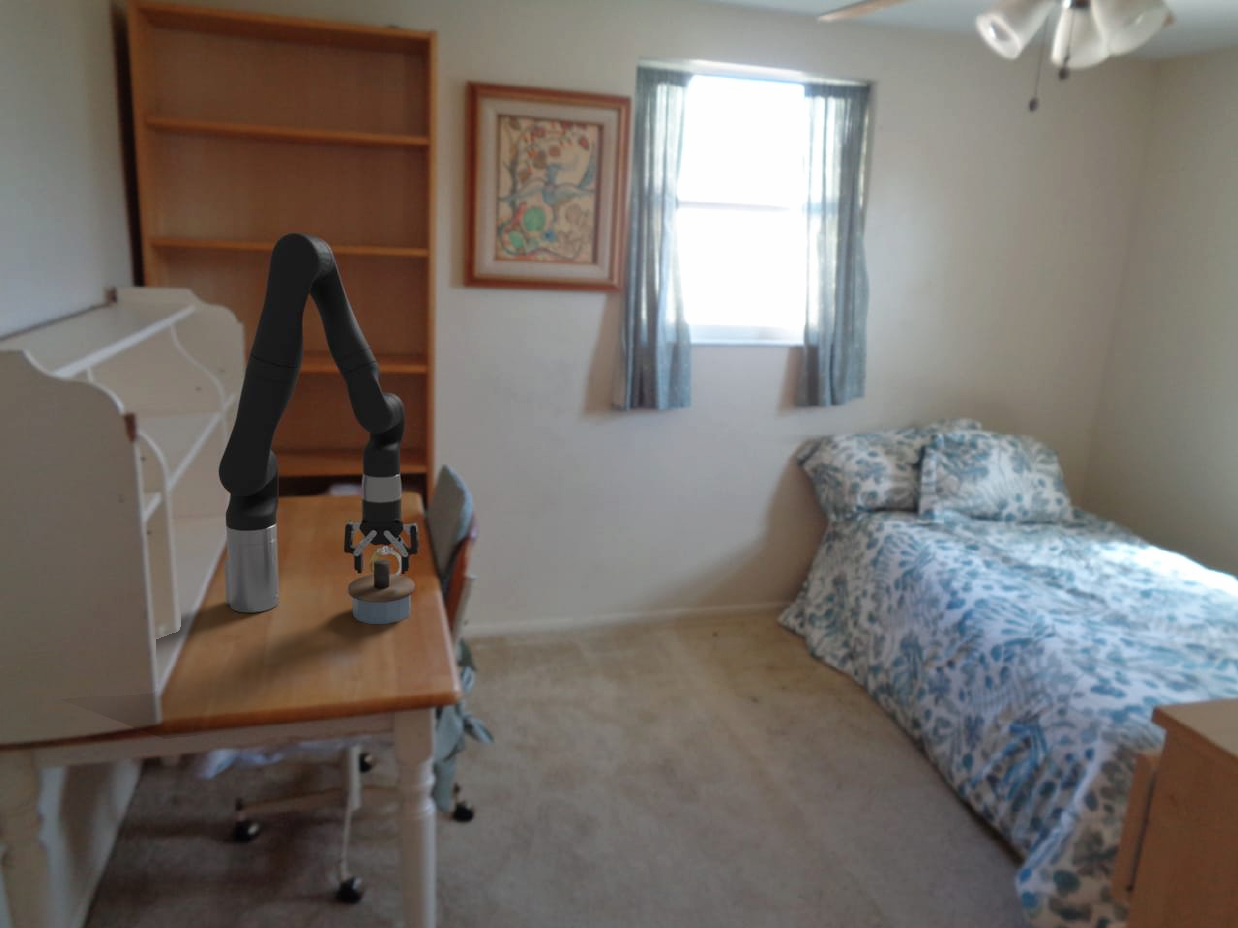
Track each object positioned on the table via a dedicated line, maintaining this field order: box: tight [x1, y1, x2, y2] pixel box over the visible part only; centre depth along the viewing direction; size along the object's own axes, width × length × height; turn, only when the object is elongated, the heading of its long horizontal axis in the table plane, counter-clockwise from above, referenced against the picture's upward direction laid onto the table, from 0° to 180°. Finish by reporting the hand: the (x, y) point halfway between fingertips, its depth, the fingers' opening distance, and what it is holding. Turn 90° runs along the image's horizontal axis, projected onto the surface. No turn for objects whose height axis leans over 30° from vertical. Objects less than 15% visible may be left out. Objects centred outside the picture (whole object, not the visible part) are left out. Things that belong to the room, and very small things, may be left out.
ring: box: [369, 545, 402, 575], centre depth 190 cm, size 7×3×8 cm, turn 98°
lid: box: [347, 559, 416, 602], centre depth 173 cm, size 13×13×6 cm
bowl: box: [352, 594, 412, 625], centre depth 174 cm, size 11×11×5 cm
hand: (381, 572), depth 173 cm, fingers open, 8 cm apart
